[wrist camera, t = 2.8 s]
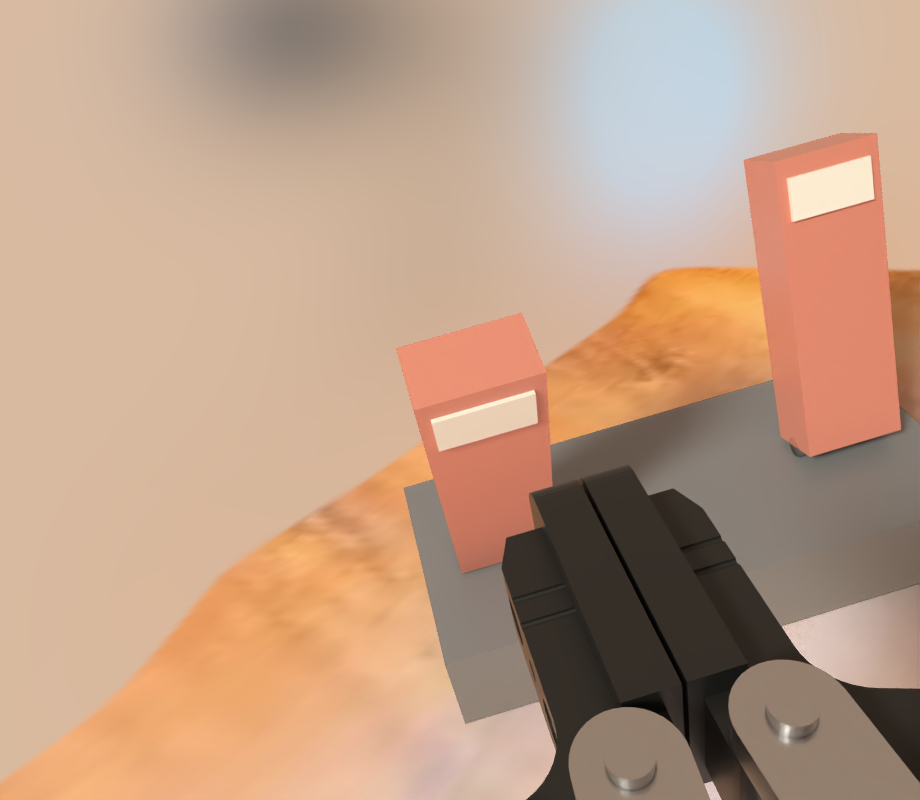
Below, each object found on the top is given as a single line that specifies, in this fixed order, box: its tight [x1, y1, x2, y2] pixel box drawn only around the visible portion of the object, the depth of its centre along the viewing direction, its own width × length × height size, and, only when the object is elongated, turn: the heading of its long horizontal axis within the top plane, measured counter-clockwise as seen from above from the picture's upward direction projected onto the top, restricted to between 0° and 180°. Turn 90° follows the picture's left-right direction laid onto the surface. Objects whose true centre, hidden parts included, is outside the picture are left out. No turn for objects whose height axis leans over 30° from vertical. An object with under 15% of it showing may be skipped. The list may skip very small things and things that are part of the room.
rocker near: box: [396, 313, 553, 574], centre depth 30 cm, size 4×2×12 cm, turn 102°
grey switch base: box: [404, 380, 920, 724], centre depth 37 cm, size 22×10×4 cm, turn 102°
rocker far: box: [744, 133, 901, 457], centre depth 34 cm, size 4×3×12 cm, turn 102°
